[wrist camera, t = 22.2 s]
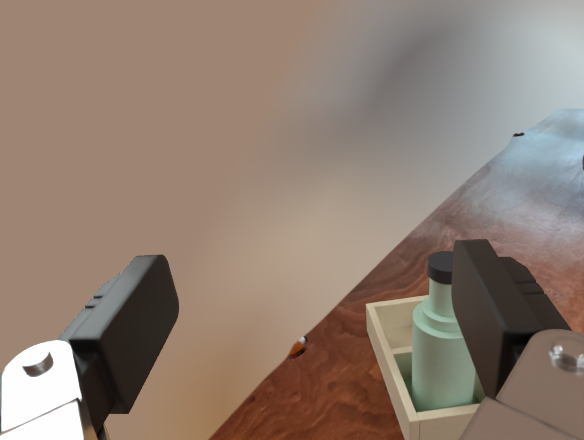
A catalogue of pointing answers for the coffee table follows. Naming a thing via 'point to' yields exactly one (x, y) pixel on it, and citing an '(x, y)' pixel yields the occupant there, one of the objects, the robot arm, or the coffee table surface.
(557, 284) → the coffee table surface
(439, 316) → the bottle
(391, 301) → the cream rectangular tray
